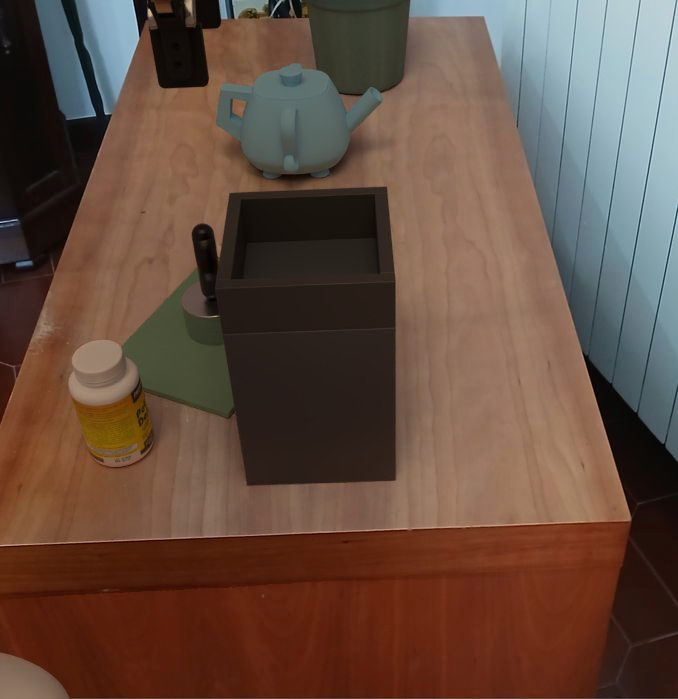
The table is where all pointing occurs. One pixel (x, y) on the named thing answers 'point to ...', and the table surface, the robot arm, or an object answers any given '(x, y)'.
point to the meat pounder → (203, 291)
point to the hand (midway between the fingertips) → (192, 55)
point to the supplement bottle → (110, 404)
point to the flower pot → (360, 42)
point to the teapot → (293, 120)
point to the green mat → (180, 359)
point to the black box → (311, 333)
